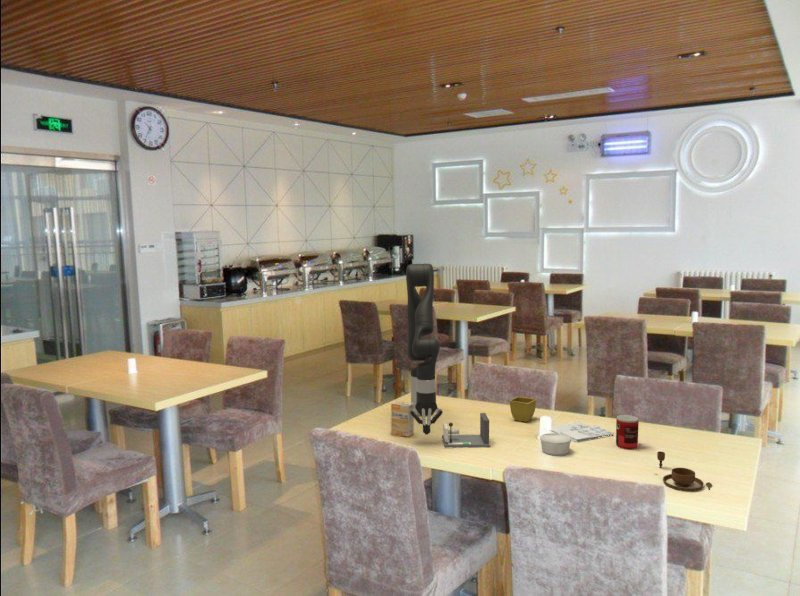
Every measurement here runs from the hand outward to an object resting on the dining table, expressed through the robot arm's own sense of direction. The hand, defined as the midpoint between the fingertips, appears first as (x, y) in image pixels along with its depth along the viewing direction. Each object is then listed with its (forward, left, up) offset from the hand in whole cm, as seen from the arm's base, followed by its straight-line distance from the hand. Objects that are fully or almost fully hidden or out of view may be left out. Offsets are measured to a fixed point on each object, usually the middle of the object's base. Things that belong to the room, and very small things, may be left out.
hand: (426, 433), depth 249 cm
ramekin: (+11, +47, -4) cm, 49 cm away
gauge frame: (0, +15, -4) cm, 15 cm away
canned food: (+7, +75, -4) cm, 75 cm away
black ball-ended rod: (+5, +9, -2) cm, 10 cm away
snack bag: (-11, +62, -4) cm, 63 cm away
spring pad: (0, +10, -2) cm, 10 cm away
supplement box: (-11, -9, -4) cm, 14 cm away
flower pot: (-28, +43, -4) cm, 51 cm away
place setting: (+40, +81, -4) cm, 91 cm away
